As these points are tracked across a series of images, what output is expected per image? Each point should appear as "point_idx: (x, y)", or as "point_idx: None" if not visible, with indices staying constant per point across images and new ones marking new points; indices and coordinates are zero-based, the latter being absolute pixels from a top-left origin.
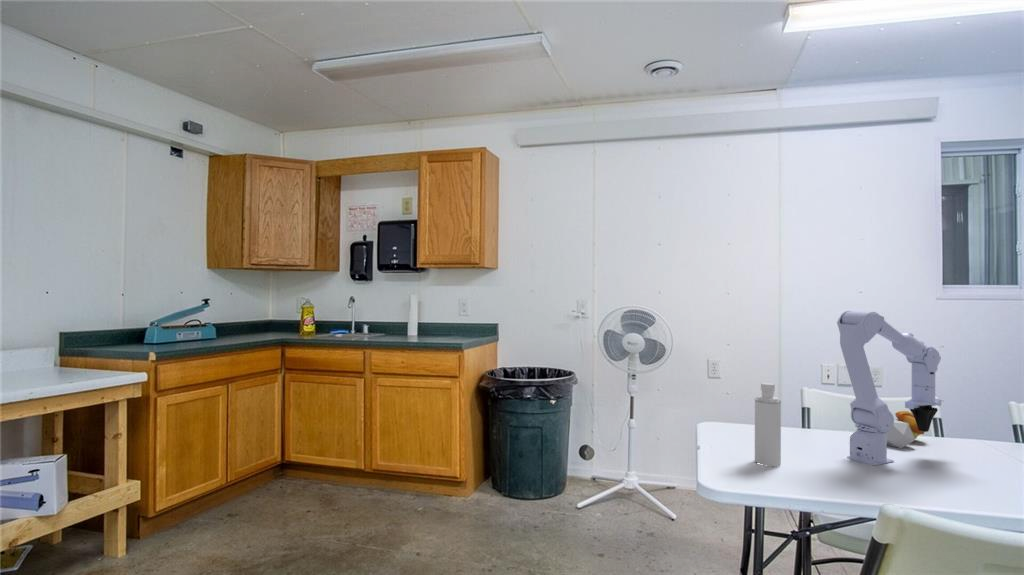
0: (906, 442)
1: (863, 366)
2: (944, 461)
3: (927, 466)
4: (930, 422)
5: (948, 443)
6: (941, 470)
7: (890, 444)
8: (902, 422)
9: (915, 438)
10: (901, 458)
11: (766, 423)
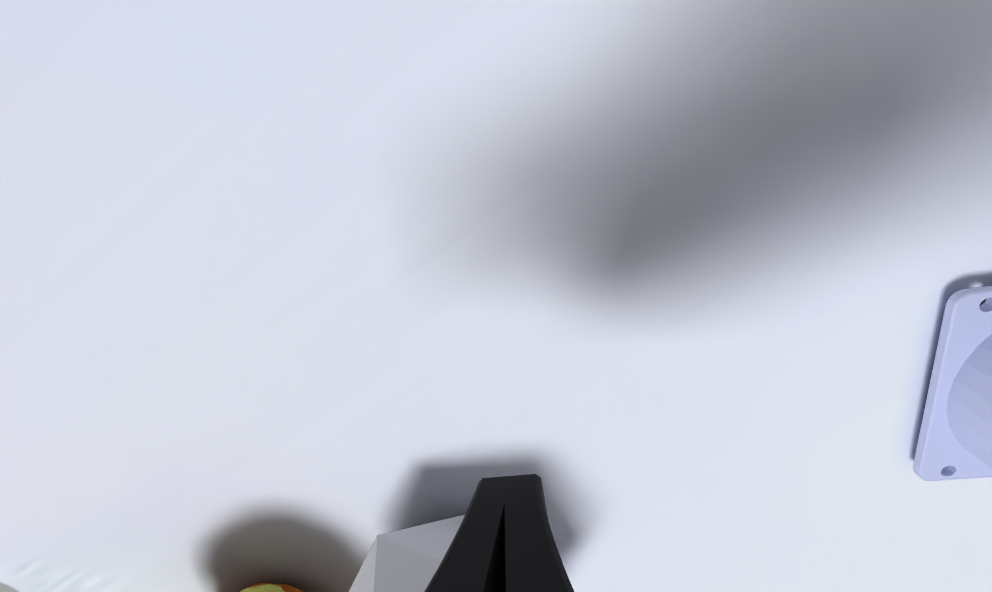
0: (453, 533)
1: None
2: (464, 227)
3: (761, 153)
4: (454, 579)
5: (54, 509)
6: (775, 23)
7: None
8: None
9: (251, 588)
10: (724, 363)
11: None
